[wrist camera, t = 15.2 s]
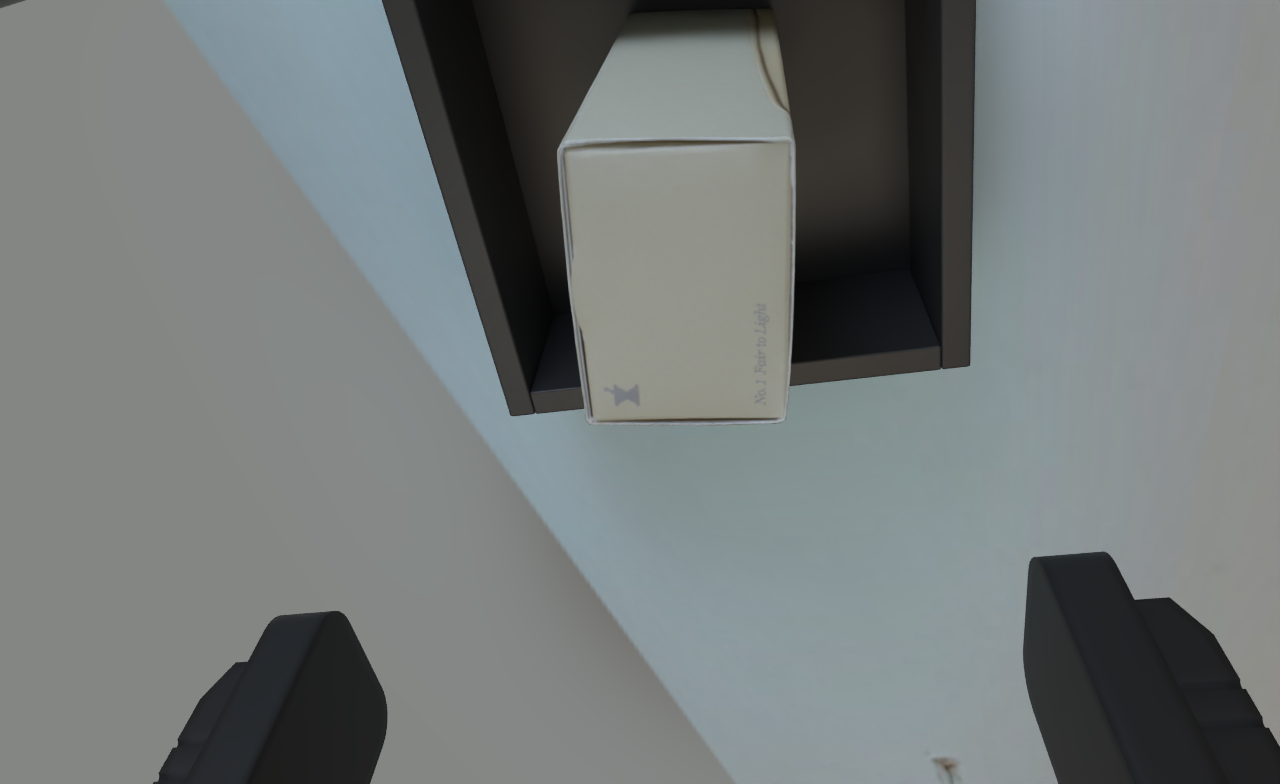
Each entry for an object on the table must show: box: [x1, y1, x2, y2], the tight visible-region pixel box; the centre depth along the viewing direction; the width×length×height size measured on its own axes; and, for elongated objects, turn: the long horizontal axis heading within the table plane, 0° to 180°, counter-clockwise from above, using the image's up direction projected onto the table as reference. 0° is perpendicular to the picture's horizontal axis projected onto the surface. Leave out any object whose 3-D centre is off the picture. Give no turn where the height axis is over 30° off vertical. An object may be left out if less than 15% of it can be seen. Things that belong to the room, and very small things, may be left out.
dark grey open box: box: [382, 0, 976, 416], centre depth 26 cm, size 14×14×6 cm
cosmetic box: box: [557, 9, 796, 425], centre depth 23 cm, size 6×4×12 cm
